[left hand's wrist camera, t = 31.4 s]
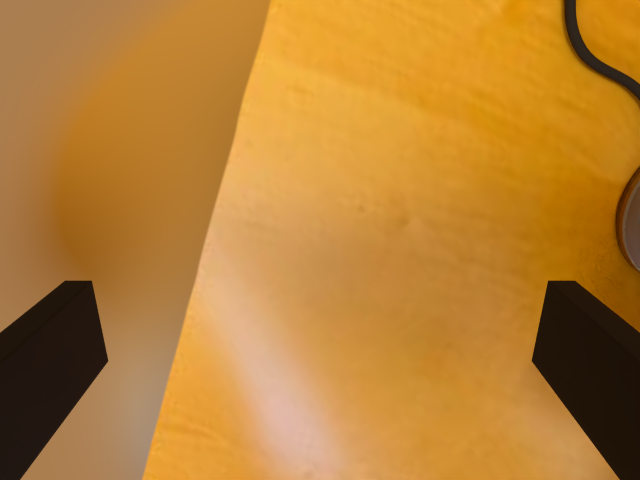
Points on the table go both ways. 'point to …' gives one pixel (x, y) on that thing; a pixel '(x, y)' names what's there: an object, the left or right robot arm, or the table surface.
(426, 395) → the table surface
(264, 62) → the table surface
